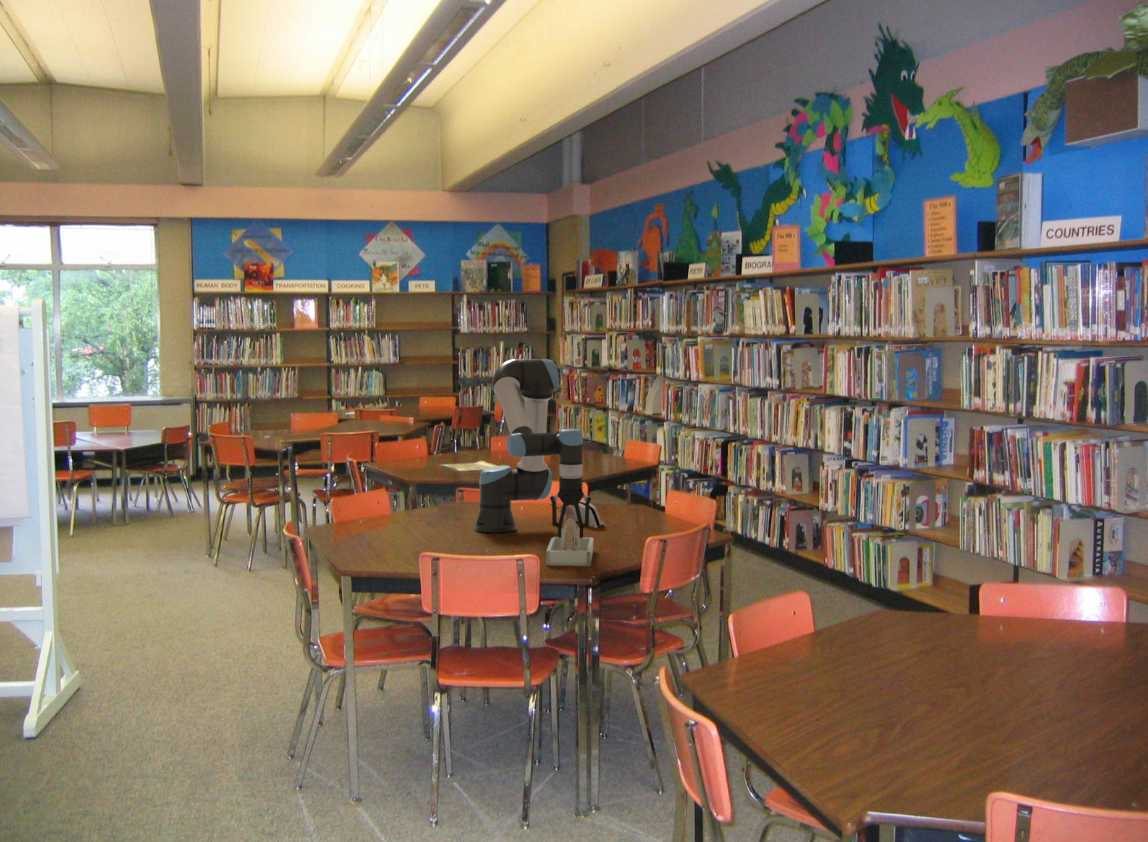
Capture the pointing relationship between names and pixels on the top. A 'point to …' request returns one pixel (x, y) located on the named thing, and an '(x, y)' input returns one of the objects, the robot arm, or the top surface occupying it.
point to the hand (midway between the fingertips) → (570, 547)
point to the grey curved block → (593, 514)
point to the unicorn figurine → (569, 528)
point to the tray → (569, 553)
